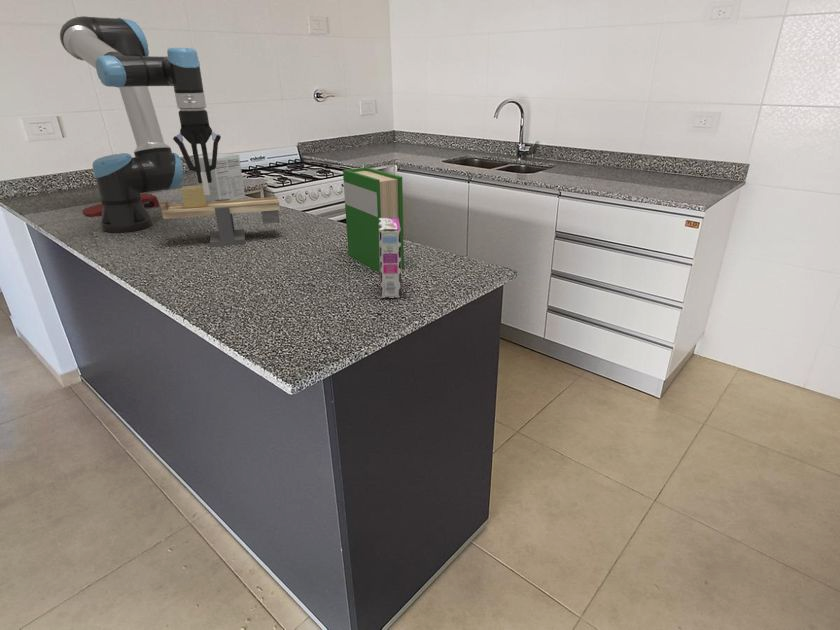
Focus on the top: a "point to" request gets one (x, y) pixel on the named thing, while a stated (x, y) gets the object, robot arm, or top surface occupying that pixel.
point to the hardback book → (370, 211)
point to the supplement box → (224, 177)
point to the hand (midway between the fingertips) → (207, 193)
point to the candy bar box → (390, 257)
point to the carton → (97, 209)
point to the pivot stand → (226, 229)
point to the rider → (194, 197)
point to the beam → (264, 205)
